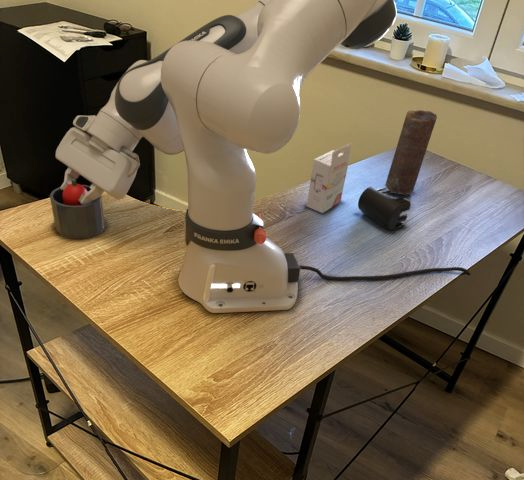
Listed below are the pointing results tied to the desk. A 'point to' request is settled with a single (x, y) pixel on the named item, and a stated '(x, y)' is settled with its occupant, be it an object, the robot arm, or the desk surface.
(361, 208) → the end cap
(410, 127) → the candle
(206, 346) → the desk surface
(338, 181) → the ink cartridge box
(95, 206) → the pot
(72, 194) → the pepper
